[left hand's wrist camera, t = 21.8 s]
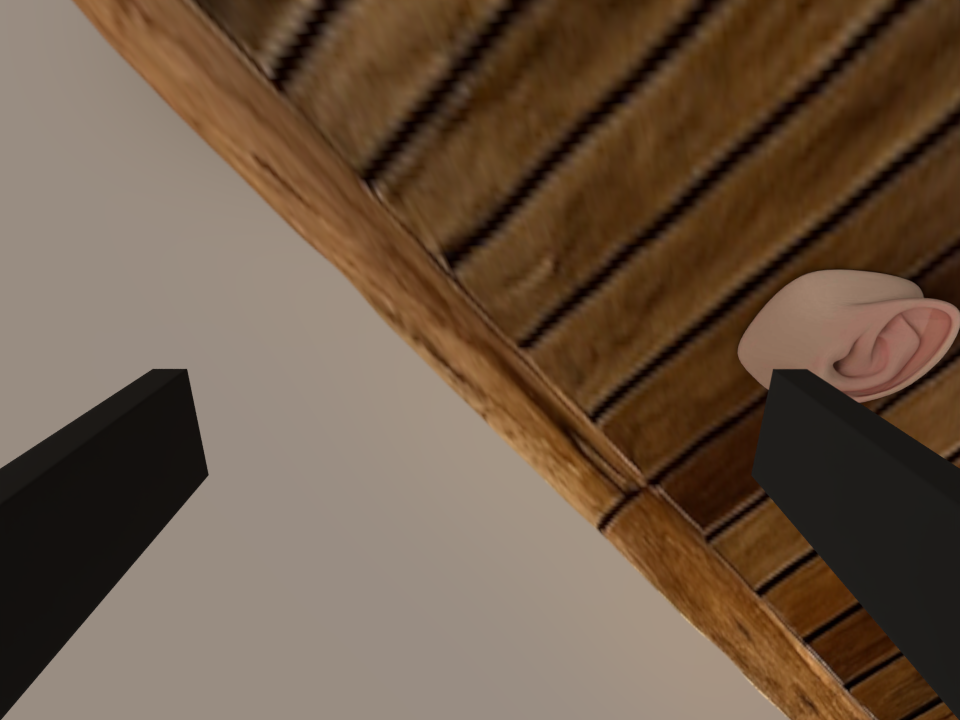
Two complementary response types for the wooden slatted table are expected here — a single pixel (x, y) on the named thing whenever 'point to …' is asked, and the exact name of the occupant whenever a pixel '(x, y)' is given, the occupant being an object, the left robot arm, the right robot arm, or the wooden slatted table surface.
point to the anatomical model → (850, 332)
